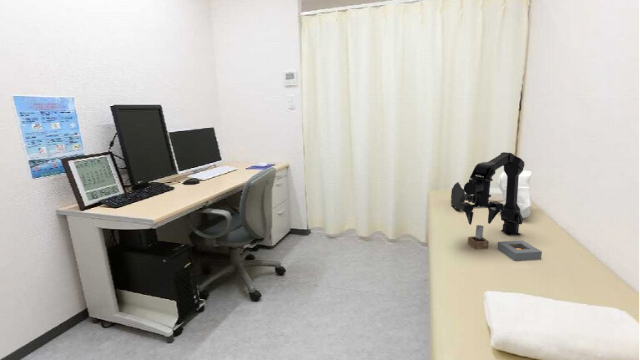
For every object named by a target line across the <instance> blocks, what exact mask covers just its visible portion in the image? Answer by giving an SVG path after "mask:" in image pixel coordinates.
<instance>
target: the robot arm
mask: <svg viewBox="0 0 640 360" xmlns="http://www.w3.org/2000/svg"><path fill="white" fill-rule="evenodd" d="M523 160H524V159H522V158H521V157H519V156H516V155H515V154H514V153H512V152H507V151H505V152H504V151H503V152H501V153H499V155H497V156H495V157H494V158H492V159H490V160H489V161H484V162H479V163H477V164H476V165H475V166H474V169H473V170H472V173H471V174H470V176H469V179H468V182H466V183H465V184H464V186H463V189H464V191H465V196H464V199H465V202H463V203H460V204H459V208H458V209H459V210H461V211H462V212H464V213H465V215H466V219H467V222H468V224H469V225H472V223H473V218H474V210H475V209H487V210H488V214H487V215H488V216H487V224H491V223H492V221H493V220H494V219H495V218H496V216H497V215H498V214H499V213H500V220H501V221H503V223H502V229H501V230H500V232H502V233H504V234H506V235H507V236H521V233H519V230H520V225H523V223H524V218H523V217H522V215H521V214H520V208H519V206H518V205H517V194H518V179H519V175H520V174H521V173H522V171H523V170H524V168H525V165H526V164H525V161H523ZM502 167H503V171H504V172H505V173H506V175H507V190H506V204H505V205H503V202H500V201H497V200H492V201H491V200H490V198H491V197H492V194H490V192H491V191H490V189H491V182H493V176H494V175H495V174H496V171H497V170H498V169H500V168H502ZM489 200H490V201H489ZM466 201H467V202H466ZM471 203H472V204H471Z"/></svg>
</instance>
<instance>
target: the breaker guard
mask: <svg viewBox="0 0 640 360" xmlns="http://www.w3.org/2000/svg"><path fill="white" fill-rule="evenodd" d="M515 248H520V249H521V250H517V249H515ZM496 250H498V251H499V252H501V253H503V255H505V256H507V257H508V258H510V259H511V260H513V262H516V261H517V262H518V261H519V262H520V261H532V260H533V261H534V260H541V259H542V253H543V251H542V250H540V249H538V248H537V247H535V246H533V245H532V244H529V243H528V242H526V241H525V240H505V241H497V246H496Z"/></svg>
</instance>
